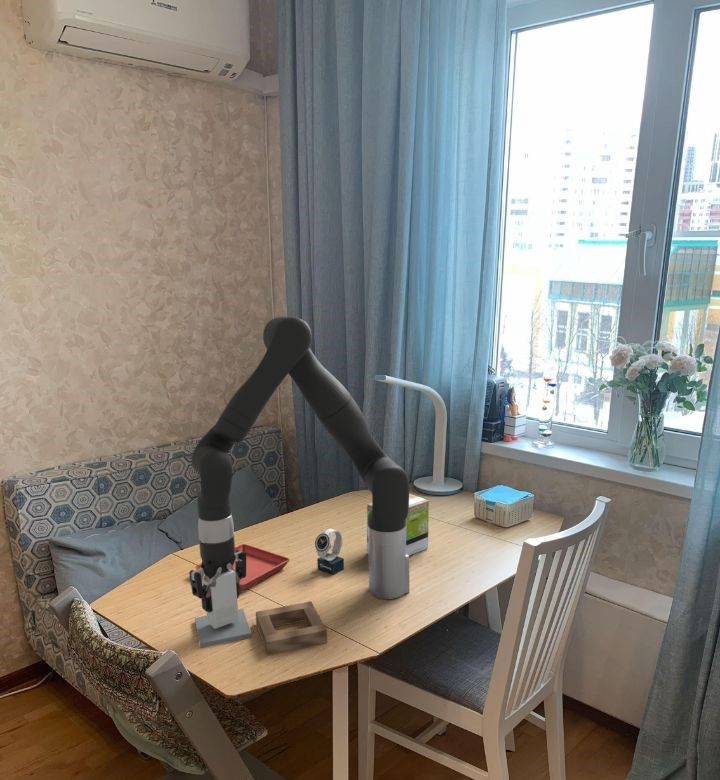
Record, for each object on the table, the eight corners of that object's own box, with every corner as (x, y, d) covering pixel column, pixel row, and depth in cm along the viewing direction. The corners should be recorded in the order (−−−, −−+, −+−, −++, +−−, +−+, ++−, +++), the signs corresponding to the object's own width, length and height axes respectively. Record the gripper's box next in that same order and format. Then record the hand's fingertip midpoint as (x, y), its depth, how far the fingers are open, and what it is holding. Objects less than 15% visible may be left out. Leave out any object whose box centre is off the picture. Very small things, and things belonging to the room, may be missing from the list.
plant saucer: (243, 553, 189) (243, 542, 189) (291, 569, 179) (291, 557, 178) (194, 578, 175) (193, 566, 174) (243, 597, 165) (242, 585, 164)
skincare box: (231, 613, 153) (227, 564, 151) (239, 621, 150) (236, 571, 147) (205, 622, 150) (202, 571, 147) (214, 630, 146) (210, 579, 144)
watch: (312, 572, 176) (311, 533, 174) (332, 561, 182) (331, 523, 180) (328, 578, 173) (327, 538, 170) (348, 567, 179) (347, 528, 176)
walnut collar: (311, 613, 156) (311, 601, 155) (327, 642, 144) (326, 629, 143) (256, 623, 152) (255, 611, 151) (267, 655, 140) (267, 642, 139)
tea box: (391, 565, 179) (390, 513, 176) (366, 553, 187) (365, 503, 184) (429, 548, 189) (429, 499, 186) (404, 538, 196) (404, 490, 193)
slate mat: (243, 612, 157) (242, 608, 157) (251, 637, 147) (251, 633, 146) (195, 621, 153) (194, 617, 153) (200, 647, 143) (199, 643, 143)
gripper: (231, 520, 153) (236, 587, 156) (178, 541, 143) (184, 612, 146) (253, 528, 148) (257, 597, 152) (199, 550, 138) (205, 623, 141)
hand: (221, 604), depth 149 cm, fingers closed on skincare box, 6 cm apart
